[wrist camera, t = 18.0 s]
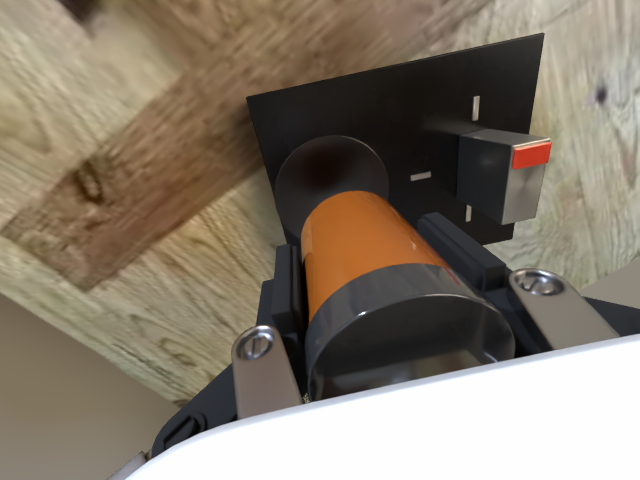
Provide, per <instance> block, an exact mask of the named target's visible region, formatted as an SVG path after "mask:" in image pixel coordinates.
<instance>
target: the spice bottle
mask: <svg viewBox="0 0 640 480" xmlns="http://www.w3.org/2000/svg"><path fill="white" fill-rule="evenodd" d="M301 255H302V269H303V283H304V297H305V312H306V326H307V332H306V336H305V343H304V348H305V368H306V387H307V393H308V398H309V400H310V402H316V401H320V400H325V399H330V398H334V397H339V396H343V395H348V394H352V393H357V392H361V391H366V390H371V389H375V388H380V387H384V386H389V385H393V384H398V383H403V382H407V381H412V380H417V379H421V378H426V377H431V376H435V375H440V374H445V373H450V372H454V371H459V370H464V369H468V368H473V367H478V366H483V365H487V364H492V363H497V362H501V361H506V360H511V359H514V357H515V350H516V343H515V336H514V333H513V330H512V327H511V325H510V323H509V322H508V320H507V318H506V317H505V316H504V315H503V314H502V313H501V312H500V311H499V310H498V309H497V308H496V307H495V306H494V305H493V304H492V302H491V301H490V300H489V299H488V298H487V297H486V296H485V295H484V294H483V293H482V292H481V291H480V290H479V289H478V288H477V287H476V286H475V285H474V284H473V283H472V282H471V281H469V280H468V279H467V278H465V277H464V276H463V275H461V274H459V273H457V272H455V271H454V270H453V269H452V267H451V266H450V265H449V264H448V263H447V262H446V261H445V260H444V259H443V258H442V257H441V256H440V255H439V254H438V253H437V252H436V251H435V250H434V249H433V248H432V247H431V246H430V244H429V243H428V242H427V241H426V240H425V239H424V238H423V237H422V236H421V235H420V234H419V233H418V232H417V231H416V230H415V229H414V228H413V227H412V226H411V225H410V224H409V223H408V221H407V220H406V219H405V218H404V217H403V216H402V215H401V214H400V213H399V212H398V211H397V210H396V209H395V208H394V207H393V206H392V205H391V204H390V203H389V202H388V201H387V200H385V199H384V198H382V197H380V196H378V195H376V194H373V193H370V192H365V191H349V192H343V193H340V194H337V195H334V196H332V197H330V198H328V199H326V200H325V201H323V202H322V203H321V204H319V205H318V206H317V207H316V208H315V209H314V210H313V211H312V213H311V214H310V215H309V217H308V218H307V220H306V222H305V224H304V226H303V230H302V233H301Z"/></svg>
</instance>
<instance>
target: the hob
mask: <svg viewBox="0 0 640 480" xmlns="http://www.w3.org/2000/svg"><path fill="white" fill-rule="evenodd" d="M543 41H544V33H539V34H534V35H530V36H525V37H520V38H516V39H511V40H506V41H502V42H497V43H493V44H488V45H483V46H479V47H474V48H470V49H465V50H460V51H456V52H451V53H446V54H442V55H437V56H433V57H428V58H423V59H419V60H414V61H409V62H405V63H400V64H396V65H391V66H386V67H382V68H377V69H373V70H368V71H363V72H359V73H354V74H349V75H345V76H340V77H336V78H331V79H326V80H322V81H317V82H313V83H308V84H303V85H299V86H294V87H289V88H285V89H280V90H276V91H271V92H266V93H262V94H257V95H252V96H248V97H246V100H247V103H248V107H249V110H250V114H251V117H252V121H253V125H254V128H255V132H256V135H257V139H258V142H259V146H260V149H261V153H262V156H263V160H264V164H265V167H266V171H267V174H268V178H269V181H270V185H271V188H272V192H273V195H274V191H275V183H276V178H277V175H278V172H279V170H280V168H281V166H282V164H283V162H284V161H285V160H286V158H287V157H288V156H289V155H290V154H291V152H292V151H293V150H295V149H296V148H297V147H298V146H300V145H301V144H303V143H304V142H306V141H308V140H311V139H313V138H316V137H319V136H324V135H344V136H348V137H352V138H354V139H357V140H359V141H361V142H363V143H364V144H366V145H367V146H369V147H370V148H371V149H372V150H373V151H374V152H375V153H376V154H377V155H378V156H379V158H380V159H381V161H382V163H383V165H384V167H385V169H386V172H387V176H388V181H389V196H388V202H389V203H390V204H391V205H392V206H393V207H394V208H395V209H396V210H397V211H398V212H399V213H400V214H401V215H402V216H403V217H404V218H405V219H406V220H407V221H408V223H409V224H410V225H411V226H412V227H413V228H414V229H415V230H416V231H417V232H418V220H419V219H421V218H422V216H423V215H425V214H430V213H434V212H439V213H440V214H441V215H443V216H444V217H445V218H446V219H448V220H449V221H450V222H452V223H453V224H454V225H456V226H457V227H458V228H460V229H461V230H462V231H463V232H465V233H466V234H467V235H469V236H470V237H471V238H473V239H474V240H475V241H476V242H478V243H479V244H480V245H487V244H491V243H496V242H501V241H505V240H510V239H512V237H513V231H514V225H515V222H514V223H509V224H504V225H501V224H500V223H498V222H496V221H495V220H493V219H491V218H490V217H488V216H486V215H484V214H483V213H481V212H479V211H478V210H476V209H474V208H473V207H471V206H469V205H468V204H466V203H464V202H462V201H461V200H459V199H457V198H456V195H457V174H458V152H459V135H461V134H466V133H470V132H475V131H480V130H484V129H493V130H500V131H507V132H514V133H521V134H528V135H529V129H530V123H531V117H532V110H533V104H534V98H535V91H536V85H537V79H538V72H539V66H540V60H541V53H542V47H543ZM274 199H275V197H274ZM280 220H281V219H280ZM281 224H282V227H283V231H284V234H285V238H286V241H287V244H290V243H291V245H292V247H293V246H297V249H298V253H299V256H300V260H301V264H302V255H301V240H300V239H299V238H297V237H296V236H295V235H293V234H292V233H291V232H290V231H289V230H288V229H287V228H286V227H285V225H284V224H283V222H282V221H281Z"/></svg>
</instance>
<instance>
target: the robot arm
mask: <svg viewBox="0 0 640 480" xmlns="http://www.w3.org/2000/svg"><path fill="white" fill-rule="evenodd" d="M418 233H419V234H420V235H421V236H422V237H423V238H424V239H425V240H426V241H427V242H428V243H429V244H430V246H431V247H432V248H433V249H434V250H435V251H436V252H437V253H438V254H439V255H440V256H441V257H442V258H443V259H444V260H445V261H446V262H447V263H448V264H449V265H450V266H451V267H452V269H453V270H454V271H455V272H457V273H459V274H461V275H463V276H464V277H465V278H467V279H468V280H469V281H471V282H472V283H473V284H474V285H475V286H476V287H477V288H478V289H479V290H480V291H481V292H482V293H483V294H484V295H485V296H486V297H487V298H488V299H489V300H490V301H491V302H492V304H493V305H494V306H495V307H496V308H497V309H498V310H499V311H500V312H501V313H502V314H503V315H504V316H505V317H506V318H507V320H508V322H509V323H510V325H511V327H512V330H513V333H514V336H515V343H516V350H515V357H514V359H511V360H506V361H501V362H497V363H492V364H487V365H483V366H478V367H473V368H468V369H464V370H459V371H454V372H450V373H445V374H440V375H435V376H431V377H426V378H421V379H417V380H412V381H407V382H403V383H398V384H393V385H389V386H384V387H380V388H375V389H371V390H366V391H361V392H357V393H352V394H348V395H343V396H339V397H334V398H330V399H325V400H320V401H316V402H311V403H307V404H305V403H304V400H303V397H304V395H305V394H306V393H307V387H306V368H305V348H304V343H305V336H306V332H307V326H306V312H305V297H304V283H303V269H302V264H301V260H300V256H299V253H298V249H297V246H293V247H292V245H291V243H290V244H285V245H281V246H277V252H276V263H275V274H274V279H271V280H267V281H263V283H262V289H261V296H260V302H259V309H258V315H257V322H256V326H254V327H251V328H249V329H247V330H245V331H244V332H243V333H242V334H240V335H239V336H238V338H237V339H236V340H235V341H234V343H233V346H232V349H231V358H232V363H231V364H230V365H229V366H228V367H227V368H226V369H225V370H224V371H222V372H221V373H220V374H219V375H218V376H217V377H216V378H215V379H214V380H213V381H211V382H210V383H209V384H208V385H207V386H206V387H205V388H204V389H203V390H202V391H200V392H199V393H198V394H197V395H196V396H195V397H194V398H193V399H192V400H191V401H189V402H188V403H187V404H186V405H185V406H184V407H183V408H182V409H181V410H180V411H179V412H177V413H176V414H175V415H174V416H173V417H172V418H171V419H170V420H169V421H168V422H167V423H166V424H165V425H164V426H163V428H162V429H161V431H160V432H159V434H158V435H157V437H156V439H155V442H154V444H153V447H152V449H151V450H149V451H148V452H147V453H146V454H145V453H144V452H143V451H141V452H140V453H138V454H137V455H136V456H135V457H133V458H132V459H131V460H130V461H128V462H127V463H126V464H125V465H124V466H122V467H121V468H120V469H119V470H117V471H116V472H115V473H114V474H112V475H111V476H110V477H109V478H108V479H106V480H640V309H637V308H633V307H628V306H624V305H619V304H614V303H610V302H605V301H601V300H596V299H592V298H588V297H583V296H581V295H580V294H579V293H578V292H577V290H576V289H575V288H574V287H573V286H572V285H571V284H570V283H569V282H568V281H567V280H565V279H564V278H563V277H561V276H559V275H557V274H555V273H553V272H549V271H546V270H541V269H536V268H525V269H518V270H516V271H511V270H510V269H509V268H507V267H506V264H505V263H504V262H503V261H501V260H500V259H499V258H497V257H496V256H495V255H493V254H492V253H491V252H490V251H488V250H487V249H486V248H484V247H483V246H482V245H480V244H479V243H478V242H476V241H475V240H474V239H473V238H471V237H470V236H469V235H467V234H466V233H465V232H463V231H462V230H461V229H460V228H458V227H457V226H456V225H454V224H453V223H452V222H450V221H449V220H448V219H446V218H445V217H444V216H443V215H441V214H440V213H439V212H434V213H430V214H425V215H423V216H422V218H421V219H419V220H418Z"/></svg>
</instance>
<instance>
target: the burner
mask: <svg viewBox="0 0 640 480" xmlns="http://www.w3.org/2000/svg"><path fill="white" fill-rule="evenodd" d="M349 191H365V192H370V193H373V194H376V195H378V196H380V197H382V198H384V199H385V200H387V201H388V196H389V181H388V176H387V172H386V169H385V167H384V165H383V163H382V161H381V159H380V158H379V156H378V155H377V154H376V153H375V152H374V151H373V150H372V149H371V148H370V147H369V146H367V145H366V144H364V143H363V142H361V141H359V140H357V139H354V138H352V137H348V136H344V135H324V136H319V137H316V138H313V139H311V140H308V141H306V142H304V143H303V144H301V145H300V146H298V147H297V148H296V149H295V150H293V151H292V152H291V154H290V155H289V156H288V157H287V158H286V160H285V161H284V162H283V164H282V166H281V168H280V170H279V172H278V175H277V178H276V183H275V191H274V197H275V205H276V209H277V212H278V215H279V217H280V219H281V221H282V222H283V224H284V225H285V227H286V228H287V229H288V230H289V231H290V232H291V233H292V234H293V235H295V236H296V237H297V238H299V239H300V240H301V233H302V230H303V226H304V224H305V222H306V220H307V218H308V217H309V215H310V214H311V213H312V211H313V210H314V209H315V208H316V207H317V206H318V205H319V204H321V203H322V202H323V201H325V200H326V199H328V198H330V197H332V196H334V195H337V194H340V193H343V192H349Z"/></svg>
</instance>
